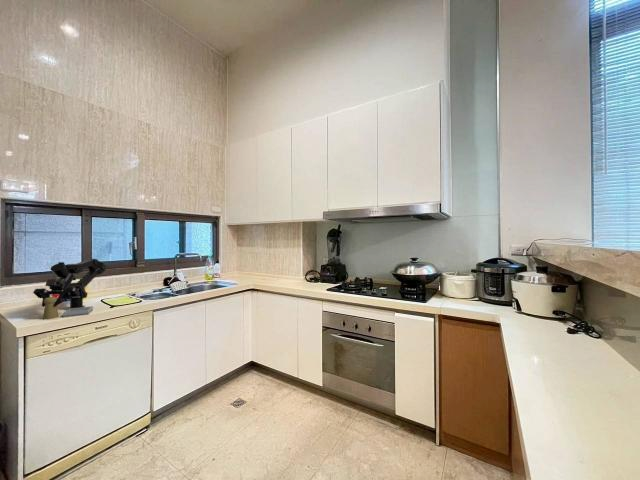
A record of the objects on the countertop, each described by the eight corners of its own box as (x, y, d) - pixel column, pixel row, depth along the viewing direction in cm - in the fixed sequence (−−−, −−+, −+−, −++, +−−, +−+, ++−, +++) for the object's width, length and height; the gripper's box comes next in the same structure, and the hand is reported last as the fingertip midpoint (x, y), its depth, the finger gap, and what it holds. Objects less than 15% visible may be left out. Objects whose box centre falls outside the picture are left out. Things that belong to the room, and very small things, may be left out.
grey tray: (69, 312, 149) (69, 308, 149) (92, 310, 154) (92, 306, 154) (62, 317, 140) (62, 313, 140) (88, 314, 145) (88, 310, 145)
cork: (48, 319, 136) (48, 298, 136) (39, 319, 137) (39, 298, 137) (61, 316, 142) (61, 296, 142) (53, 315, 143) (53, 295, 143)
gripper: (35, 273, 141) (17, 298, 130) (76, 273, 145) (61, 296, 134) (47, 285, 149) (30, 310, 138) (85, 284, 153) (72, 308, 142)
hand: (48, 306), depth 138 cm, fingers closed on cork, 5 cm apart
